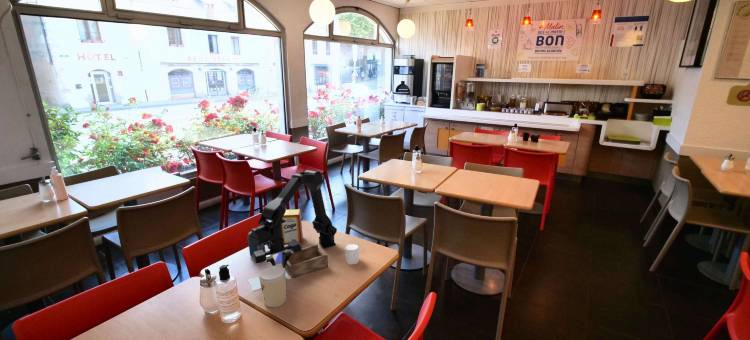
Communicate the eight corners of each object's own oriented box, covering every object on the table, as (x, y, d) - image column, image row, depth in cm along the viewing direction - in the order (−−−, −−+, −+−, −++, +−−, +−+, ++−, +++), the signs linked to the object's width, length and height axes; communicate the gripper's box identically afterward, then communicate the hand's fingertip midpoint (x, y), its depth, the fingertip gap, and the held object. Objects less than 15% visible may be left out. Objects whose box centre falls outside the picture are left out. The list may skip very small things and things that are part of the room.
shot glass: (363, 260, 154) (362, 246, 152) (352, 266, 149) (351, 252, 147) (352, 255, 158) (352, 241, 156) (341, 261, 154) (340, 247, 152)
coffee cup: (265, 293, 133) (261, 265, 129) (290, 291, 134) (287, 264, 130) (259, 309, 124) (255, 280, 120) (286, 307, 125) (282, 278, 121)
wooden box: (318, 256, 158) (317, 244, 157) (328, 267, 149) (327, 254, 148) (284, 266, 150) (282, 254, 149) (292, 279, 141) (291, 266, 140)
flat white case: (283, 270, 149) (282, 260, 148) (290, 280, 142) (289, 269, 141) (247, 281, 142) (246, 271, 141) (253, 292, 135) (251, 282, 133)
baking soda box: (302, 237, 176) (300, 208, 172) (301, 243, 170) (299, 213, 166) (283, 239, 175) (280, 209, 171) (282, 245, 169) (278, 215, 164)
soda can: (263, 259, 157) (259, 235, 154) (247, 259, 157) (244, 235, 154) (267, 251, 164) (265, 228, 160) (253, 251, 164) (250, 228, 160)
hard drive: (292, 262, 152) (297, 248, 164) (273, 263, 152) (279, 249, 164) (292, 265, 152) (297, 251, 164) (273, 266, 152) (280, 252, 164)
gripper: (291, 222, 150) (294, 254, 155) (246, 234, 141) (251, 267, 145) (300, 232, 141) (303, 266, 146) (253, 245, 132) (258, 280, 136)
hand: (279, 269), depth 143 cm, fingers open, 3 cm apart
